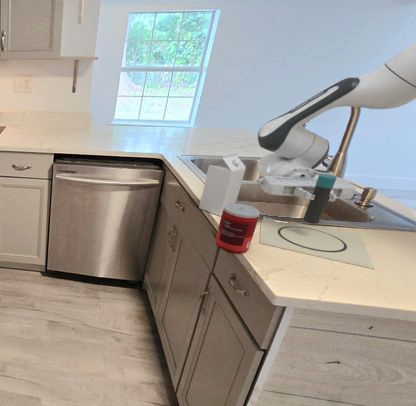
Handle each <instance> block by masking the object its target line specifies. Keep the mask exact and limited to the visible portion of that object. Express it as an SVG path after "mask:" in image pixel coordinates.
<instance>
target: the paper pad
mask: <svg viewBox="0 0 416 406" xmlns="http://www.w3.org/2000/svg"><path fill="white" fill-rule="evenodd" d="M269 218H270V217H269ZM269 218H265V219H269ZM260 222H261V223H260V234H259V244H260V245H261V244H262V245H264V246H270V247H273V248H278V249H281V250H282V249H283V250H287V251H291V252H296V253H300V254H305V255H308V256H313V257H318V258H322V259H327V260H332V261H335V262H340V263H344V264H349V265H354V266H357V267H362V268H366V269H370V270H375V269H376V268H375V266H374V263H373V261H372V259H371V256H370V254H369V252H368V249H367V246H366V244H365V242H364V240H363V237H362V235H361V234H358V233H353V232H348V231H342V230H336V229H332V228H326V227H321V226H316V225H311V224H306V223H300V222H296V221H290V222H288V223H283V222H276V221H274V220H262V219H261V221H260Z"/></svg>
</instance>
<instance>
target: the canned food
mask: <svg viewBox="0 0 416 406" xmlns="http://www.w3.org/2000/svg"><path fill="white" fill-rule="evenodd" d="M260 214H261V213H260V210H259V209H258V208H255V207H253V206H251V205H249V204H243V203H237V202H236V203H231V204H226V205H225V206H224V209H223V212H222V216H220V220H219V224H218V228H217V232H216V234H215V235H216V236H215V240H214V241H215V245H216V246H217V248H219V249H220V250H223V251H224V252H228V253H232V254H245V253H247V252H248V251H249V249H250V247H251V244H252V241H253V237H254V234H255V231H256V227H257V225H258V222H259V218H260Z"/></svg>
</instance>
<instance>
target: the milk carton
mask: <svg viewBox="0 0 416 406" xmlns="http://www.w3.org/2000/svg"><path fill="white" fill-rule="evenodd" d="M246 169H247V168H246V165H245V164H244V163H243V161H242V160H241V159H240V158H239V156H238V151H235V152H231V153H227V154H224V155H222V158H221V159H219V160H217V161H215V162H212V163H211V164H209V165H208V167H207V173H206V176H205V181H204V186H203V189H202V193H201V198H200V202H199V207H198V209H200V210H202V211H205V212H208V213H210V214H213V215H215V216H219V217H221V216H222V212H223V209H224V206H225V205H226V204H231V203H237V201H238V197H239V193H240V190H241V187H242V184H243V180H244V176H245V172H246Z"/></svg>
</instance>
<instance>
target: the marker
mask: <svg viewBox="0 0 416 406" xmlns="http://www.w3.org/2000/svg"><path fill="white" fill-rule="evenodd" d="M337 177H338V176H336V177H335V175H334V176H332V175H327V174H320V175H319V176H318V179H317V182H316V186H315V189H314V191H313V193H314V194H315V195H316V196H315V197H314V198H315V199H314V200H309V202H308V205H307V207H306V209H305V213H304V216H303V218H302V220H303V222H306V223H308V224H314V225H316V224H319V223H320V220H321V218H322V216H323V213H324V209H325V207H326V205H327V202H328V201H327V200H328V197H329V195H330V192H331V190H332V188H333V186H334V183H335V181H336V178H337Z"/></svg>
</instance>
